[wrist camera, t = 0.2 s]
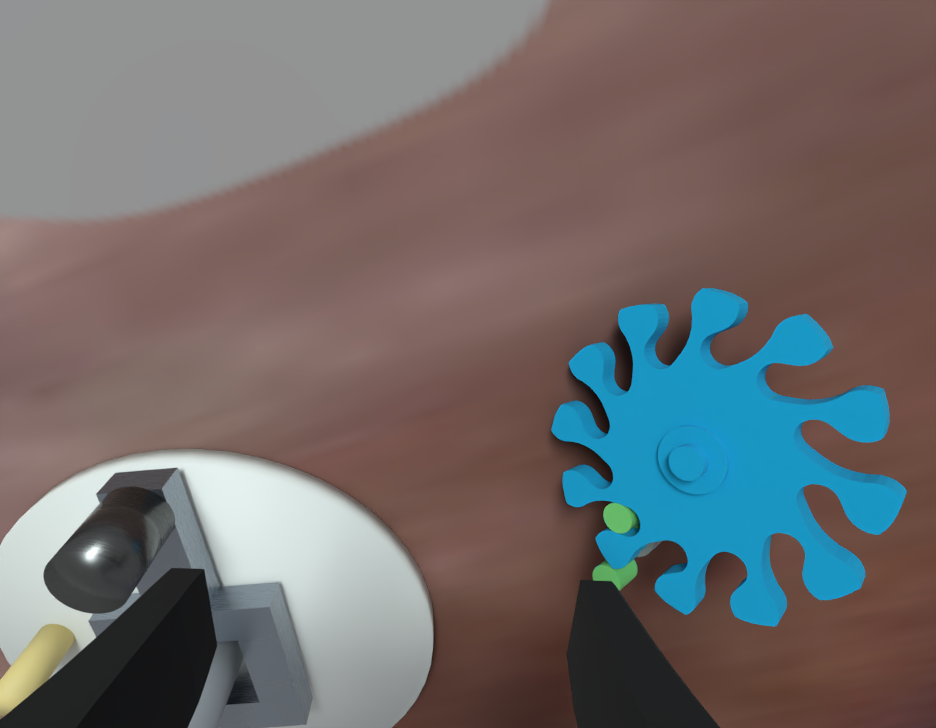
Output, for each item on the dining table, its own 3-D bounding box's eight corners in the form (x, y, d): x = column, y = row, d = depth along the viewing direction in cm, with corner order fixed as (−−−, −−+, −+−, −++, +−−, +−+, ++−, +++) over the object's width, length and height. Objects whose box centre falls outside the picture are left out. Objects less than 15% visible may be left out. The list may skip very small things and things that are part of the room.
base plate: (452, 738, 29) (451, 859, 24) (95, 765, 29) (29, 888, 25) (406, 429, 21) (392, 520, 17) (-77, 469, 21) (-218, 568, 17)
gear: (653, 220, 17) (1023, 474, 12) (724, 231, 21) (1014, 421, 16) (485, 476, 22) (694, 718, 17) (568, 443, 26) (753, 629, 22)
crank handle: (312, 697, 25) (287, 804, 22) (159, 709, 25) (107, 817, 22) (241, 457, 20) (191, 542, 16) (48, 473, 20) (-47, 561, 16)
